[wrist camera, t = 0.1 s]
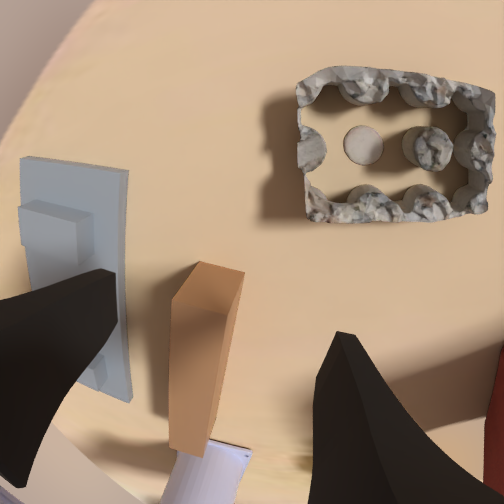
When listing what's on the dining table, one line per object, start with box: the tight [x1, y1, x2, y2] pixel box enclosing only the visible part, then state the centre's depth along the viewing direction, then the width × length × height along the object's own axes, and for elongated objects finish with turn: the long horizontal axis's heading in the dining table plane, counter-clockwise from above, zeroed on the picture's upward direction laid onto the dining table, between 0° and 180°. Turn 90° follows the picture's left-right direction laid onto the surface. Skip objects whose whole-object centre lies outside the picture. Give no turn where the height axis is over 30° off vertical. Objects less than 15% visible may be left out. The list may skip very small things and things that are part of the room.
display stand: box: [18, 156, 133, 403], centre depth 22 cm, size 22×10×3 cm, turn 169°
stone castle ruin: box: [296, 66, 496, 223], centre depth 14 cm, size 11×8×4 cm
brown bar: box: [169, 261, 245, 458], centre depth 21 cm, size 16×3×5 cm, turn 169°
